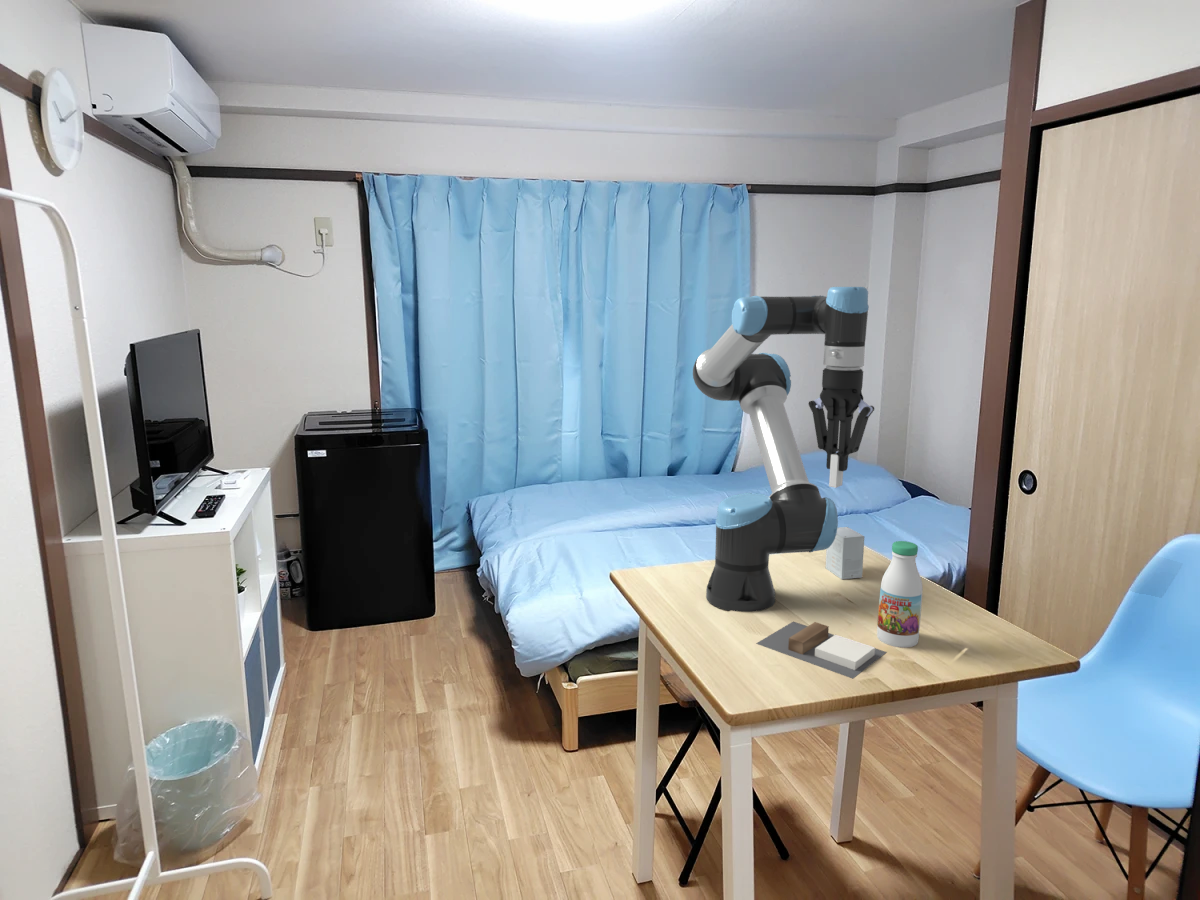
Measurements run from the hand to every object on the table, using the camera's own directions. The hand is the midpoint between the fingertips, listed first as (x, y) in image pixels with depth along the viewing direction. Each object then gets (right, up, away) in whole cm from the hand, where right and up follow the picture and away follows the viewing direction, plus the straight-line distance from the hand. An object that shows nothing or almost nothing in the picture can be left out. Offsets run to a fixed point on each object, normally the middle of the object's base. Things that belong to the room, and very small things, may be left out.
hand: (835, 485), depth 156 cm
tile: (-4, -30, -7) cm, 31 cm away
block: (-7, -31, -4) cm, 31 cm away
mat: (-5, -31, -6) cm, 32 cm away
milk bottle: (+11, -31, -2) cm, 33 cm away
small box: (+12, -23, +34) cm, 43 cm away
